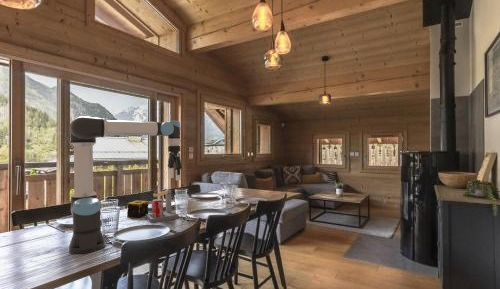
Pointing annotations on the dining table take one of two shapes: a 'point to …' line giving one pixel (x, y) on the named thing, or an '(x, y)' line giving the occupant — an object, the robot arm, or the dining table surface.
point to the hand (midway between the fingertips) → (174, 179)
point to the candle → (137, 209)
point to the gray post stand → (167, 214)
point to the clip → (161, 193)
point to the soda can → (157, 208)
